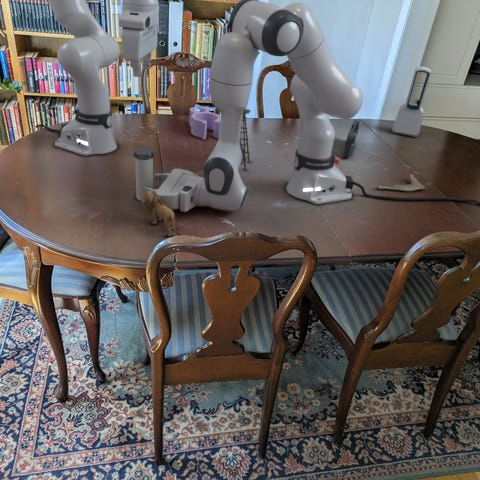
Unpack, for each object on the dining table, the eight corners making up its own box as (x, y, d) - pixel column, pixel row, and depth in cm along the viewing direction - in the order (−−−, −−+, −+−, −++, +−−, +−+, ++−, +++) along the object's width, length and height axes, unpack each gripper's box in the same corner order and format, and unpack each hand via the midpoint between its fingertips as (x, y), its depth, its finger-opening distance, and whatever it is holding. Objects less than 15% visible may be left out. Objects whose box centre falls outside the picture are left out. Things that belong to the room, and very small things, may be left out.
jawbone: (429, 189, 172) (431, 184, 171) (394, 201, 161) (396, 196, 160) (410, 177, 177) (412, 172, 176) (375, 189, 167) (376, 184, 165)
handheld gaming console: (349, 160, 187) (354, 136, 182) (342, 158, 188) (347, 134, 183) (355, 142, 206) (361, 119, 201) (349, 140, 207) (354, 118, 201)
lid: (136, 151, 141) (136, 145, 140) (155, 153, 141) (155, 148, 140) (131, 158, 136) (131, 153, 135) (151, 160, 136) (151, 155, 135)
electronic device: (418, 133, 224) (438, 69, 207) (417, 138, 218) (438, 72, 201) (391, 128, 226) (409, 64, 210) (390, 133, 220) (409, 67, 204)
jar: (138, 192, 148) (137, 147, 140) (154, 194, 148) (154, 149, 140) (134, 200, 144) (133, 154, 136) (151, 201, 144) (150, 156, 136)
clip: (182, 123, 206) (183, 107, 202) (209, 122, 210) (210, 106, 207) (197, 140, 191) (197, 123, 187) (225, 138, 195) (226, 122, 191)
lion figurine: (138, 219, 134) (138, 191, 130) (153, 213, 138) (152, 186, 133) (173, 240, 127) (174, 211, 122) (187, 233, 131) (188, 205, 126)
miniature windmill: (245, 170, 170) (254, 87, 153) (222, 166, 171) (229, 83, 154) (250, 161, 177) (258, 80, 161) (228, 157, 178) (235, 77, 162)
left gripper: (140, 9, 127) (141, 62, 135) (116, 19, 110) (118, 79, 117) (162, 12, 127) (162, 65, 134) (142, 23, 110) (143, 82, 117)
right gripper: (202, 167, 149) (160, 160, 150) (184, 195, 132) (137, 187, 133) (201, 185, 152) (160, 178, 153) (183, 214, 135) (137, 206, 136)
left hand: (142, 72), depth 126 cm, fingers open, 8 cm apart
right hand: (149, 182), depth 143 cm, fingers open, 8 cm apart
